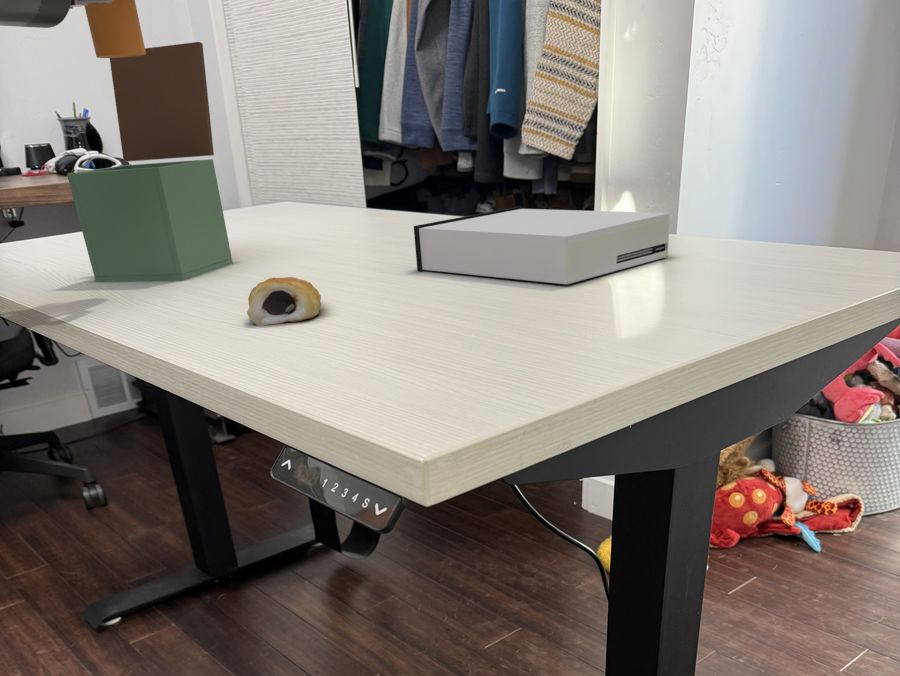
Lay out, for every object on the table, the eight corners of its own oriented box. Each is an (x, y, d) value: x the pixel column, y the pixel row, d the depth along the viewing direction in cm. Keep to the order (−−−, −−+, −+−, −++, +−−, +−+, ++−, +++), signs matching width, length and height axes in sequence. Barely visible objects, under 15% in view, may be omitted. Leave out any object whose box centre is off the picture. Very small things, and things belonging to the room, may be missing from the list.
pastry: (263, 308, 88) (256, 268, 87) (328, 303, 88) (323, 263, 86) (247, 328, 80) (240, 285, 78) (319, 323, 80) (313, 280, 78)
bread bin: (183, 281, 107) (158, 167, 101) (95, 283, 112) (66, 173, 105) (233, 264, 117) (213, 159, 110) (150, 266, 121) (126, 165, 115)
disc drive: (519, 248, 110) (518, 205, 108) (668, 258, 95) (671, 209, 93) (416, 272, 100) (412, 226, 98) (565, 288, 85) (565, 234, 83)
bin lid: (198, 41, 105) (202, 43, 106) (108, 52, 110) (112, 54, 110) (210, 154, 110) (214, 155, 110) (123, 161, 114) (127, 161, 115)
